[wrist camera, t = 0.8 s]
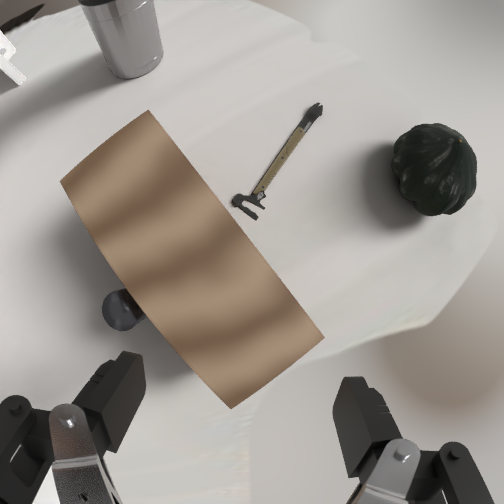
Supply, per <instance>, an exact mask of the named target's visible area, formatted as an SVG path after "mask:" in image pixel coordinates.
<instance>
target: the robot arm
mask: <svg viewBox="0 0 504 504" xmlns="http://www.w3.org/2000/svg"><path fill="white" fill-rule="evenodd" d="M78 1H79V3H80V5H81V7H82V9H83V12H84V14H85V16H86V18H87V20H88V22H89V25H90V27H91V29H92V31H93V33H94V35H95V37H96V40H97V42H98V44H99V46H100V48H101V50H102V52H103V54H104V56H105V59H106V61H107V63H108V65H109V67H110V69H111V71H112V72H113V74H114V75H116V76H117V77H120V78H125V79H129V78H136V77H139V76H142V75H144V74H146V73H148V72H150V71H151V70H153V69H154V68H155V67H156V66H157V65H158V64H159V62H160V61H161V59H162V57H163V48H162V43H161V38H160V33H159V28H158V23H157V17H156V12H155V7H154V1H153V0H78ZM145 390H146V381H145V373H144V365H143V358H142V355H140V354H135V353H131V352H127V351H123V352H122V353H121V354H120V355H119V357H118V358H117V359H116V361H113V360H109V361H107V362H106V363H104V364H102V365H101V366H100V367H99V368H98V369H97V371H96V372H95V374H94V375H93V376H92V377H91V378H90V381H88V382H87V384H86V385H85V386H84V387H83V389H82V390H81V391H80V393H79V394H78V395H77V397H76V398H75V399H74V401H73V402H72V403H71V404H61V405H58V406H56V407H55V408H54V409H53V410H52V411H46V410H40V409H34V408H32V406H31V404H30V402H29V401H28V399H26V398H25V397H23V396H20V395H13V396H9V397H7V398H6V399H4V400H3V401H2V403H1V404H0V504H32V503H33V501H34V499H35V497H36V495H37V493H38V491H39V489H40V487H41V485H42V483H43V481H44V479H45V477H46V475H47V473H48V471H49V469H50V467H51V465H52V473H53V477H54V482H55V486H56V490H57V494H58V497H59V501H60V504H123V503H122V501H121V499H120V497H119V495H118V493H117V490H116V488H115V486H114V483H113V481H112V478H111V476H110V473H109V471H108V468H107V465H106V463H105V460H104V458H103V456H104V454H105V452H106V450H108V451H111V452H114V453H117V450H118V448H119V446H120V444H121V442H122V440H123V438H124V436H125V434H126V432H127V430H128V428H129V426H130V424H131V422H132V420H133V417H134V415H135V413H136V411H137V409H138V407H139V405H140V403H141V401H142V399H143V397H144V395H145ZM333 419H334V422H335V426H336V430H337V434H338V438H339V442H340V446H341V449H342V454H343V457H344V461H345V465H346V469H347V474H348V478H353V477H359V480H360V483H359V484H358V485H357V487H356V489H355V490H354V492H353V494H352V495H351V497H350V498H349V500H348V501H347V503H346V504H446V502H445V499H444V496H443V494H442V490H443V492H444V494H445V497H446V500H447V502H448V504H494V502H493V499H492V497H491V495H490V493H489V491H488V489H487V486H486V484H485V482H484V480H483V478H482V476H481V474H480V472H479V470H478V468H477V466H476V464H475V462H474V460H473V459H472V456H471V455H470V453H469V451H468V449H467V448H466V447H465V446H464V445H462V444H461V443H458V442H448V443H446V444H444V445H443V446H442V447H441V449H440V450H439V451H422V450H419V448H418V447H417V445H416V444H415V443H413V442H412V441H410V440H407V439H403V438H402V436H401V434H400V432H399V429H398V427H397V425H396V423H395V421H394V419H393V417H392V415H391V414H390V411H389V409H388V407H387V406H386V403H385V401H384V399H383V397H382V395H381V394H380V393H379V392H378V391H376V390H375V389H374V388H369V387H368V385H367V383H366V381H365V379H364V378H363V377H361V376H360V377H344V378H343V380H342V383H341V386H340V389H339V391H338V394H337V397H336V399H335V402H334V405H333ZM20 445H21V446H20ZM19 446H20V447H19ZM18 447H19V449H18ZM17 449H18V451H17V452H16V450H17ZM15 452H16V454H15V455H14V453H15ZM13 455H14V457H13ZM12 457H13V459H12V460H11V458H12ZM10 461H11V462H10ZM53 462H54V463H53Z"/></svg>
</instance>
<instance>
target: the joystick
mask: <svg viewBox="0 0 504 504" xmlns="http://www.w3.org/2000/svg"><path fill="white" fill-rule="evenodd" d="M102 313H103V317H104V319H105V321H106V322H107V324H108V325H109V326H110V327H112V328H113V329H115V330H118V331H126V330H129V329H131V328H132V327H134V326H135V325H136V324H137V323H139V322H140V321H141V320H142V319H144V318H145V317H146V316H147V315H146V314H145V313H144V311H143V310H142V309H141V308H140V306H139V305H138V304H137V302H136V301H135V300H134V298H133V297H132V296H131V294H130V293H129V291H128V290H127V289H126V288H125V289H121V290H118V291H115V292H112V293H110V294H109V295H108V296H107V297H106V298H105V300H104V302H103V305H102Z"/></svg>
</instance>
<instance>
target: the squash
mask: <svg viewBox="0 0 504 504" xmlns="http://www.w3.org/2000/svg"><path fill="white" fill-rule="evenodd" d="M394 153H395V157H394V158H393V160H392V163H391V167H392V170H393V172H394V174H395V175H396V176H397V177H398V178H399V179H400V185H399V190H400V193H401V195H402V197H403V198H405V199H407V200H410V201H413V203H414V206H415V208H416V209H417V210H418V211H419V212H420V213H421V214H423V215H427V216H436V215H440V214H442V213H443V214H448V215H451V214H453V213H455V212H457V211H458V210H460V209H461V208H462V207H463V206H464V205H465V203H466V202H467V200H468V199H469V198H470V197H472V195H473V194H474V192H475V189H476V173H477V160H476V156H475V153H474V152H473V150H472V148H471V147H470V145H469V144H468V142H467V141H466V139H465V138H464V137H463V136H462V135H461V134H460V133H458V132H457V131H456V130H453V129H451V128H449V127H447V126H446V125H443V124H439V123H434V124H421V125H417V126H414V127H413V128H412V129H411V130H410V131H408V132H406V133H404V134H403V135H401V136H400V137H399V138H398V139H397V141H396V142H395V144H394Z"/></svg>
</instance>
